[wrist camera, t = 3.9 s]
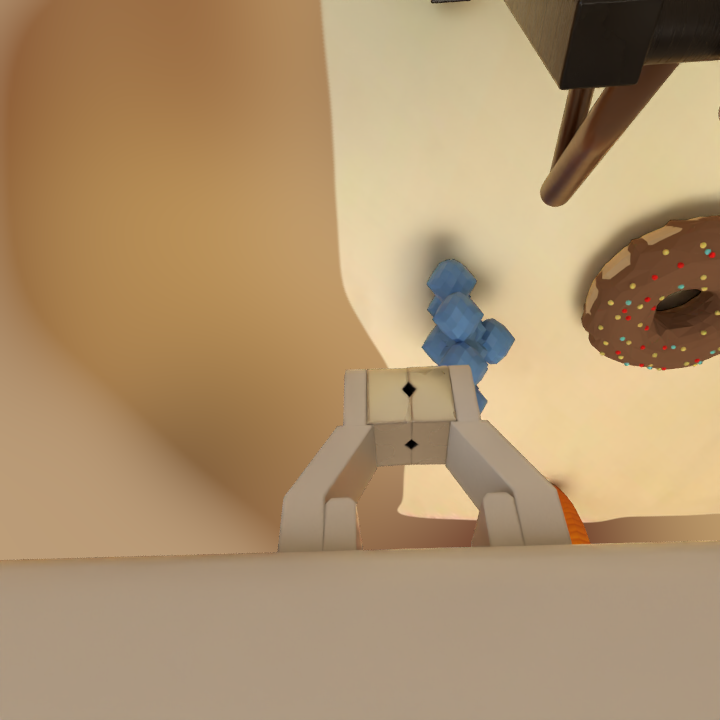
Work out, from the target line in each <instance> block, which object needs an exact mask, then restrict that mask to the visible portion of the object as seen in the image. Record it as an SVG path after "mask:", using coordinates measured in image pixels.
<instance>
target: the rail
mask: <svg viewBox="0 0 720 720" xmlns="http://www.w3.org/2000/svg"><path fill="white" fill-rule="evenodd" d="M460 1H470V0H431V3H447V2H460ZM504 2H505V3H506V5H507V6H508V8H509V10H510V11H511V13H512V14H513V16H514V18H515V19H516V21H517V22H518V24H519V25H520V27H521V29H522V30H523V32H524V33H525V35H526V37H527V38H528V40H529V41H530V43H531V44H532V46H533V48H534V49H535V51H536V52H537V54H538V56H539V57H540V59H541V60H542V62H543V64H544V65H545V67H546V68H547V70H548V71H549V73H550V75H551V76H552V78H553V79H554V81H555V83H556V84H557V86H558V87H559V89H561V90H568V89H584V88H599V87H615V86H631V85H636V84H637V83H638V80H639V77H640V74H641V71H642V68H643V65H653V64H668V63H683V62H698V61H713V60H720V0H504Z"/></svg>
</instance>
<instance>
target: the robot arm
mask: <svg viewBox="0 0 720 720" xmlns="http://www.w3.org/2000/svg"><path fill="white" fill-rule="evenodd" d="M344 381H345V383H344V385H345V386H344V422H343V423H344V424H343V426H338V427H337V428H336V429H335V430H334V431H333V433H332V434H331V435H330V437H329V438H328V439H327V441H326V442H325V444H324V445H323V446H322V447H321V449H320V450H319V451H318V453H317V454H316V455H315V457H314V458H313V459H312V461H311V462H310V463H309V465H308V466H307V467H306V469H305V470H304V471H303V473H302V474H301V475H300V477H299V478H298V479H297V481H296V482H295V483H294V485H293V486H292V487H291V488H290V490H289V491H288V493H287V494H286V495H285V496H284V500H283V508H282V517H281V527H280V536H279V544H278V552H276V553H241V554H240V553H239V554H207V555H206V554H203V555H167V556H134V557H133V556H132V557H95V558H61V559H60V558H58V559H23V560H22V559H21V560H0V720H720V540H717V541H683V542H682V541H681V542H645V543H611V544H610V543H609V544H572V542H571V538H570V535H569V531H568V528H567V524H566V521H565V517H564V514H563V510H562V506H561V503H560V499H559V496H558V492H557V489H556V488H555V487H554V486H553V485H552V484H551V483H550V482H549V481H548V480H547V479H546V478H545V477H544V476H543V475H542V474H541V473H540V472H539V471H538V470H537V469H536V468H535V467H534V466H533V465H532V464H531V463H530V462H529V461H528V460H527V459H526V458H525V457H524V456H523V455H522V454H521V453H520V452H519V451H518V450H517V449H516V448H515V447H514V446H513V445H512V444H511V443H510V442H509V441H508V440H507V439H506V438H505V437H504V436H503V435H502V434H501V433H500V432H499V431H498V430H497V429H496V428H495V427H494V426H493V425H492V424H491V423H490V422H489V421H488V420H481V417H480V412H479V407H478V402H477V397H476V392H475V386H474V381H473V376H472V371H471V368H470V366H469V365H453V366H448V367H447V365H445V366H427V367H410V368H399V369H367V370H366V369H358V370H346V372H345V380H344ZM411 464H446V465H445V466H446V467H447V469H448V470H449V471H450V472H451V474H452V475H453V476H454V478H455V479H456V480H457V482H458V483H459V484H460V486H461V487H462V488H463V490H464V491H465V492H466V494H467V495H468V496H469V498H470V499H471V500H472V502H473V503H474V504H475V506H476V507H477V508H478V510H479V515H478V519H477V523H476V527H475V531H474V535H473V539H472V543H471V544H472V547H463V548H461V547H459V548H425V549H423V548H422V549H387V550H363V546H362V540H361V533H360V526H359V519H358V512H357V506H356V504H357V503H358V501H359V499H360V497H361V495H362V494H363V492H364V490H365V489H366V487H367V485H368V483H369V482H370V480H371V478H372V476H373V475H374V473H375V471H376V470H377V467H378V466H393V465H411Z"/></svg>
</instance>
